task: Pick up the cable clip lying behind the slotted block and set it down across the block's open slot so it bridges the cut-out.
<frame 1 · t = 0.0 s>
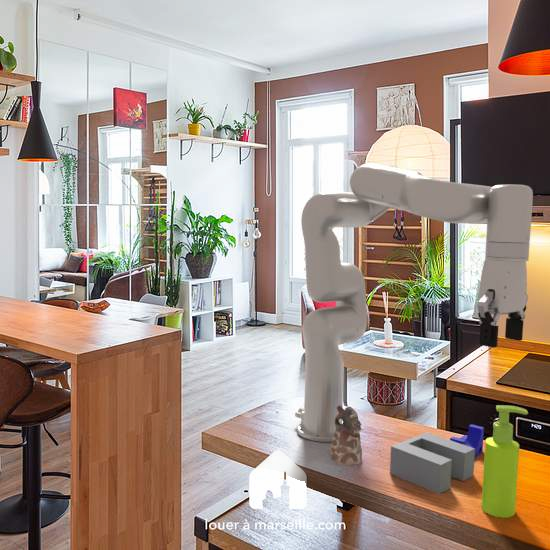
hand: (501, 342, 110), 31 cm above the counter, tool pointing down, fingers open, 9 cm apart
figurine: (346, 459, 131), on the counter
slotted block: (431, 474, 124), on the counter
cable clip: (462, 457, 134), on the counter
soap dispenser: (500, 511, 109), on the counter
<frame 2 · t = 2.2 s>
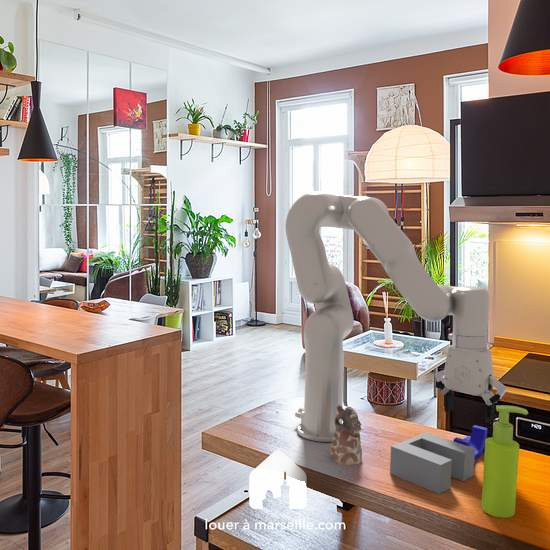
hand: (468, 415, 133), 10 cm above the counter, tool pointing down, fingers open, 9 cm apart
nothing on the counter moved.
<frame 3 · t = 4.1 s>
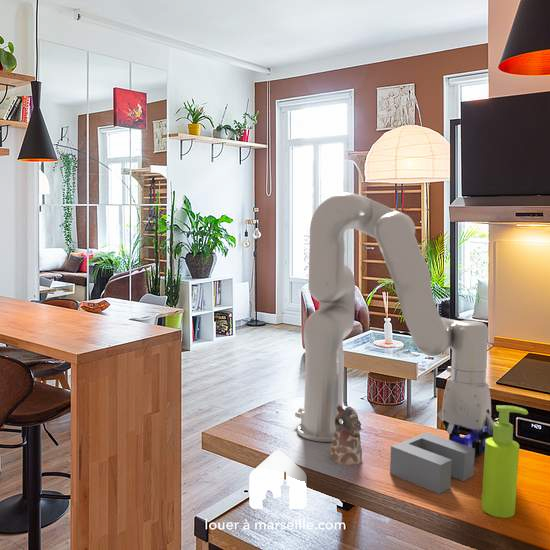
hand: (465, 452, 134), 1 cm above the counter, tool pointing down, fingers closed on cable clip, 4 cm apart
cable clip: (465, 457, 134), on the counter, touching gripper
everything else where it was.
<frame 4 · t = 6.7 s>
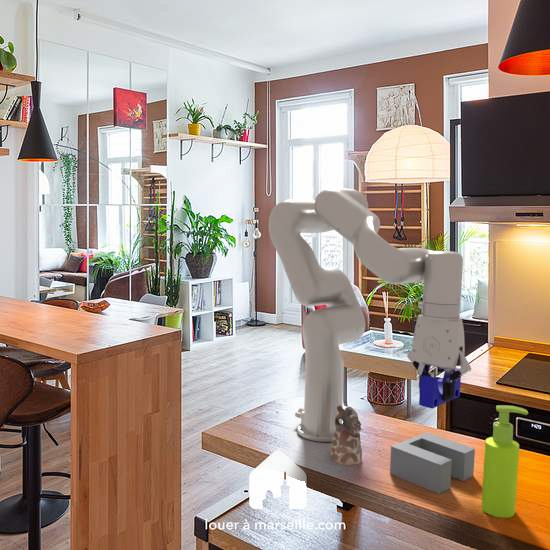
hand: (436, 395, 123), 17 cm above the counter, tool pointing down, fingers closed on cable clip, 4 cm apart
cable clip: (436, 400, 123), point 16 cm above the counter, touching gripper
everything else where it was.
when the fingers open (8 cm above the counter, at t = 9.3 s): cable clip stays where it is, resting on slotted block.
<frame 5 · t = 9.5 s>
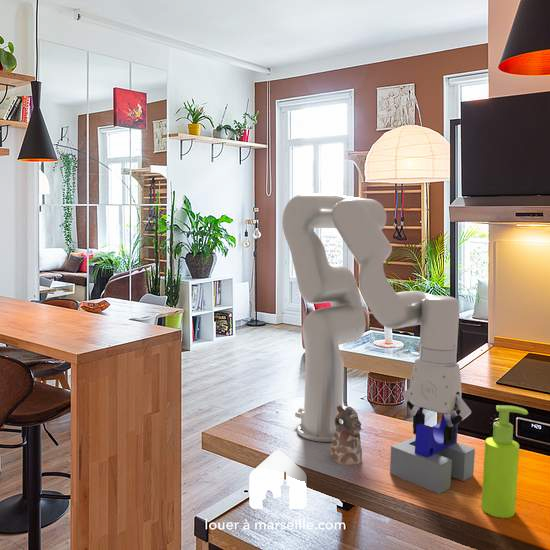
hand: (433, 437, 123), 8 cm above the counter, tool pointing down, fingers open, 6 cm apart
cable clip: (433, 447, 124), point 6 cm above the counter, touching slotted block
everything else where it was.
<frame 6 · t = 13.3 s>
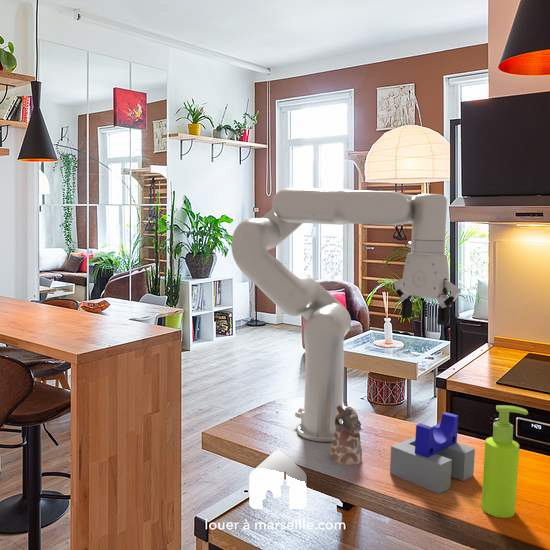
hand: (424, 321, 136), 30 cm above the counter, tool pointing down, fingers open, 9 cm apart
nothing on the counter moved.
at the end: cable clip 0.4 cm off-centre on the slotted block, point 5.8 cm above the slotted block's base; cable clip tilted 0°; the gripper is holding nothing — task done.
